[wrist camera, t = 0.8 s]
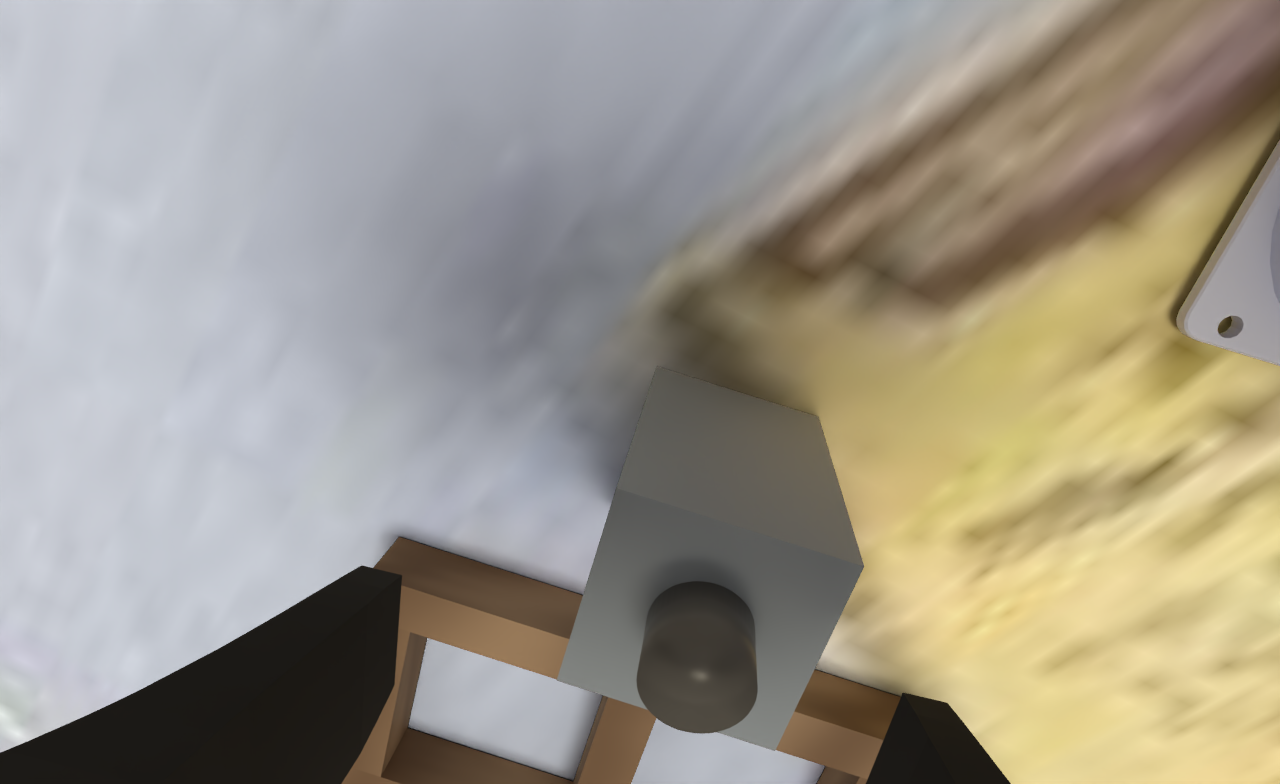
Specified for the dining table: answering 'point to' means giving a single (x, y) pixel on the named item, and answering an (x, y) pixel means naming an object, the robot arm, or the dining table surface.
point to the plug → (716, 564)
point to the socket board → (537, 641)
